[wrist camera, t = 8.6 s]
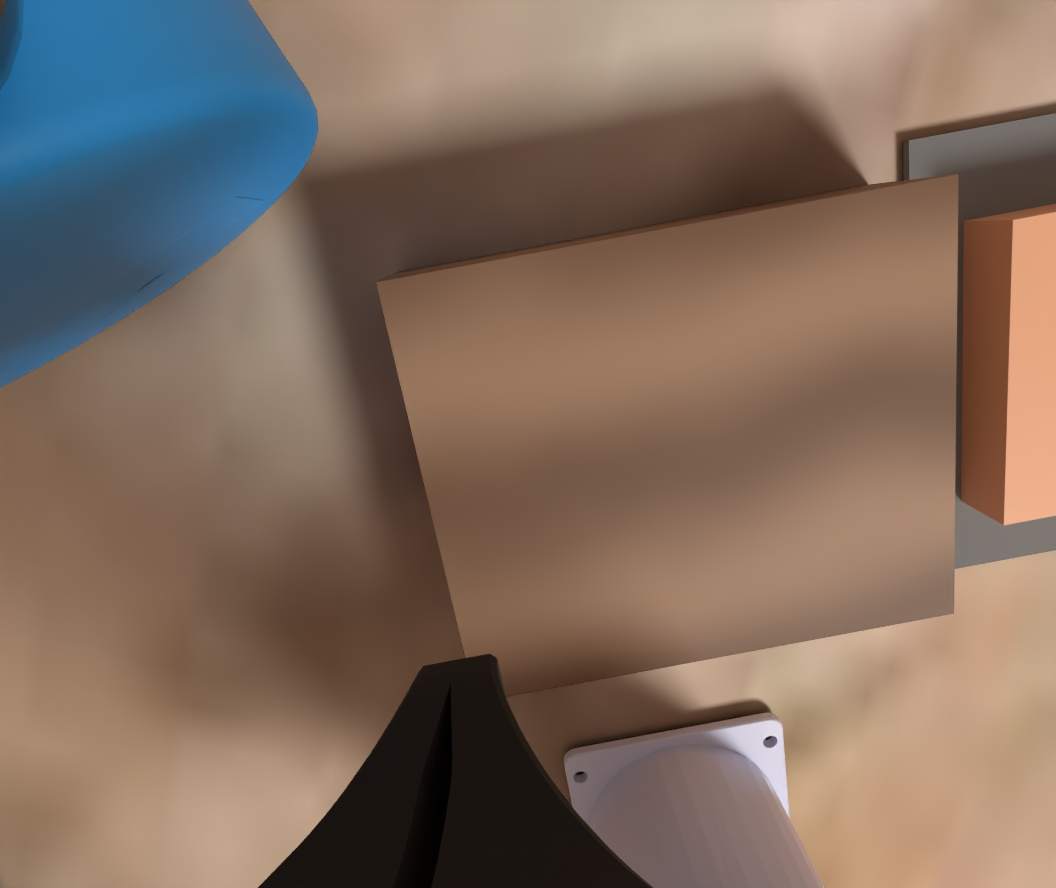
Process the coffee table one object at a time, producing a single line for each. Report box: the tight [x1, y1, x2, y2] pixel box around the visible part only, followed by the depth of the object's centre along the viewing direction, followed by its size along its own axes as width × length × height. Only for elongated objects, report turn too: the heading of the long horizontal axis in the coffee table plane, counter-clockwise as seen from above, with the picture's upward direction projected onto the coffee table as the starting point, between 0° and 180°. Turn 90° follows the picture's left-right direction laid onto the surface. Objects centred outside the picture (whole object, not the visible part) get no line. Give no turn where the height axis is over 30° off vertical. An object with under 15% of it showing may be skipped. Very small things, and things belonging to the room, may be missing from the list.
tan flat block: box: [376, 174, 958, 697], centre depth 20 cm, size 12×14×4 cm
